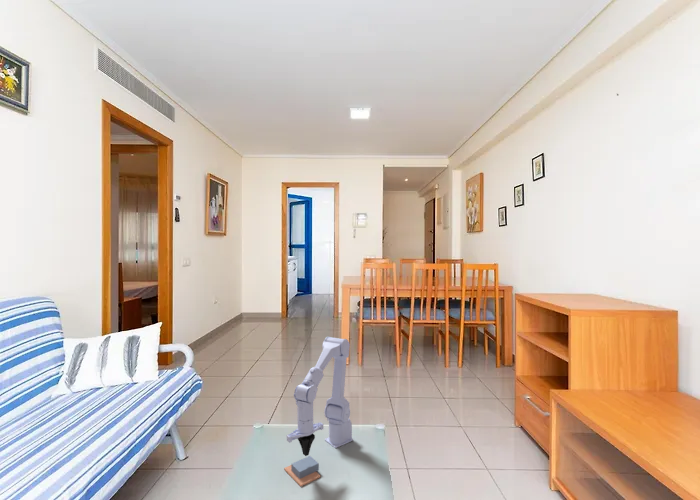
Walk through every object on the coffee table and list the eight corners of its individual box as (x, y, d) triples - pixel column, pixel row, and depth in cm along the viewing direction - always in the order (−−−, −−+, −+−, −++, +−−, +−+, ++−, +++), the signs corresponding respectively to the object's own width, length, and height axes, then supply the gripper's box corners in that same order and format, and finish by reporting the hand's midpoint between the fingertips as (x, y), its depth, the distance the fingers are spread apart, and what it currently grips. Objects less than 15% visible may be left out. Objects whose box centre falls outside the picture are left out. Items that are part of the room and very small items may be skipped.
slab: (310, 455, 136) (291, 463, 131) (318, 463, 131) (299, 472, 127) (310, 462, 136) (291, 470, 131) (318, 470, 132) (299, 479, 127)
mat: (302, 461, 138) (302, 459, 138) (320, 477, 128) (320, 475, 128) (284, 469, 133) (284, 468, 133) (300, 486, 124) (300, 485, 124)
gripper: (316, 407, 139) (316, 442, 139) (282, 419, 130) (282, 456, 130) (326, 414, 133) (326, 450, 134) (292, 427, 124) (292, 466, 125)
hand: (305, 454), depth 132 cm, fingers closed
